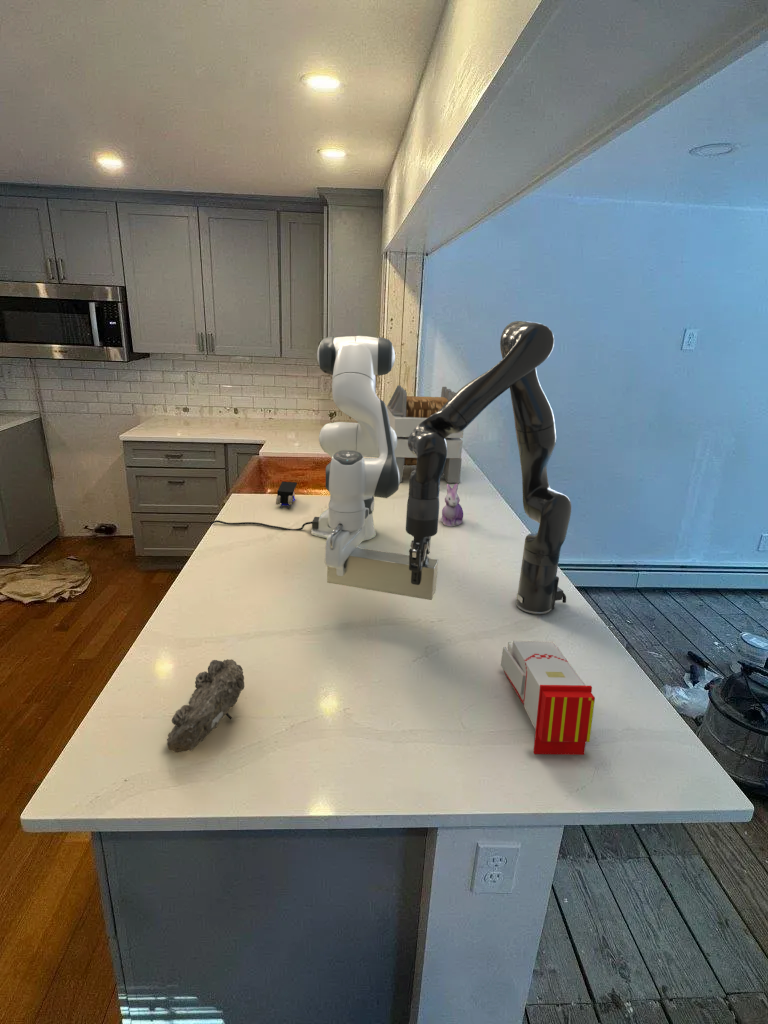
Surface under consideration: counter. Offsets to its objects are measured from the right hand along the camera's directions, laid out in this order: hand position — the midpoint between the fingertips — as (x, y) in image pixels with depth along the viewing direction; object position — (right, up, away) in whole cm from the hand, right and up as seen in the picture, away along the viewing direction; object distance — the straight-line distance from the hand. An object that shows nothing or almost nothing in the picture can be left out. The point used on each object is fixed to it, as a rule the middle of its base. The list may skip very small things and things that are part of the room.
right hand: (418, 578), depth 138 cm
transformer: (+9, +35, +137) cm, 142 cm away
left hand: (-18, +2, +5) cm, 19 cm away
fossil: (-41, -23, -30) cm, 56 cm away
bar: (-9, -3, +4) cm, 10 cm away
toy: (+23, -23, -23) cm, 40 cm away
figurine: (+17, +12, +74) cm, 77 cm away
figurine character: (-47, +19, +86) cm, 100 cm away
